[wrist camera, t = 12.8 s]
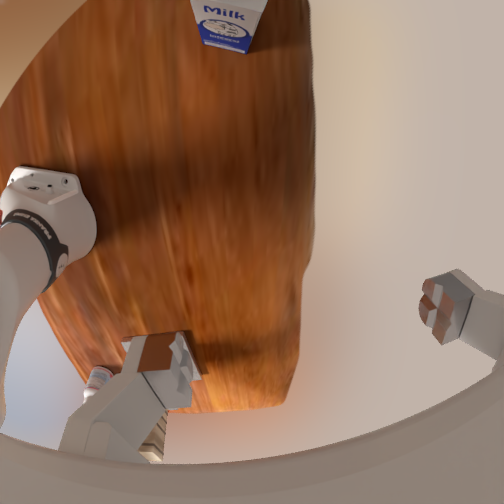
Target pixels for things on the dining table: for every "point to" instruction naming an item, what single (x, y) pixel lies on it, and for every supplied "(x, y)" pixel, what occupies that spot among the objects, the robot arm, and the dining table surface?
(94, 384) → the pill bottle
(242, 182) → the dining table surface
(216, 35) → the milk carton
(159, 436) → the post
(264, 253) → the dining table surface
